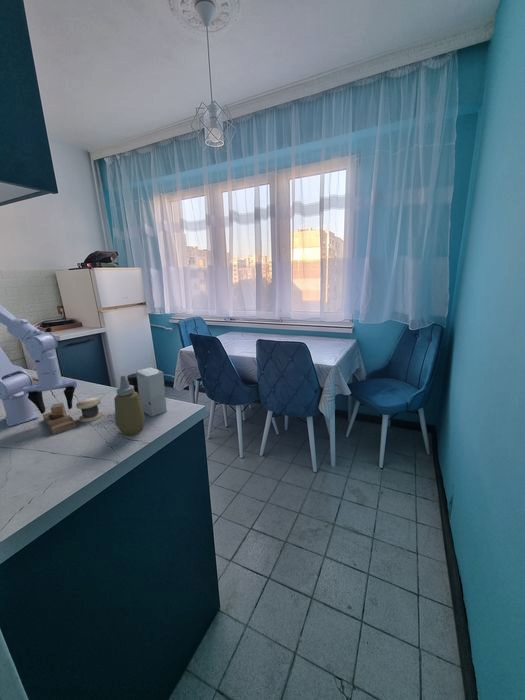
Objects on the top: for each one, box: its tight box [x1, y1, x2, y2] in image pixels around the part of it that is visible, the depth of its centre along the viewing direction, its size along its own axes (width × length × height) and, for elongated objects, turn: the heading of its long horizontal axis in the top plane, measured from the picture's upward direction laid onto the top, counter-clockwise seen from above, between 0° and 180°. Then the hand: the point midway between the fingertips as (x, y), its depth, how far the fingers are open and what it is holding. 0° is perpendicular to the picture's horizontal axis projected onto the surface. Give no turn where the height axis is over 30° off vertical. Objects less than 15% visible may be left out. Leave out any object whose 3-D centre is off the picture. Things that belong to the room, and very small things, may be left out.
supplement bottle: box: [126, 373, 139, 395], centre depth 104 cm, size 7×7×12 cm
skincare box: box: [136, 366, 168, 417], centre depth 100 cm, size 8×6×15 cm
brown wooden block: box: [50, 402, 67, 420], centre depth 96 cm, size 3×3×6 cm
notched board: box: [42, 410, 77, 435], centre depth 95 cm, size 14×6×2 cm, turn 46°
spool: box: [75, 397, 104, 423], centre depth 98 cm, size 7×7×6 cm
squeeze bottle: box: [113, 374, 146, 437], centre depth 86 cm, size 8×8×18 cm
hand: (57, 410), depth 96 cm, fingers open, 7 cm apart
